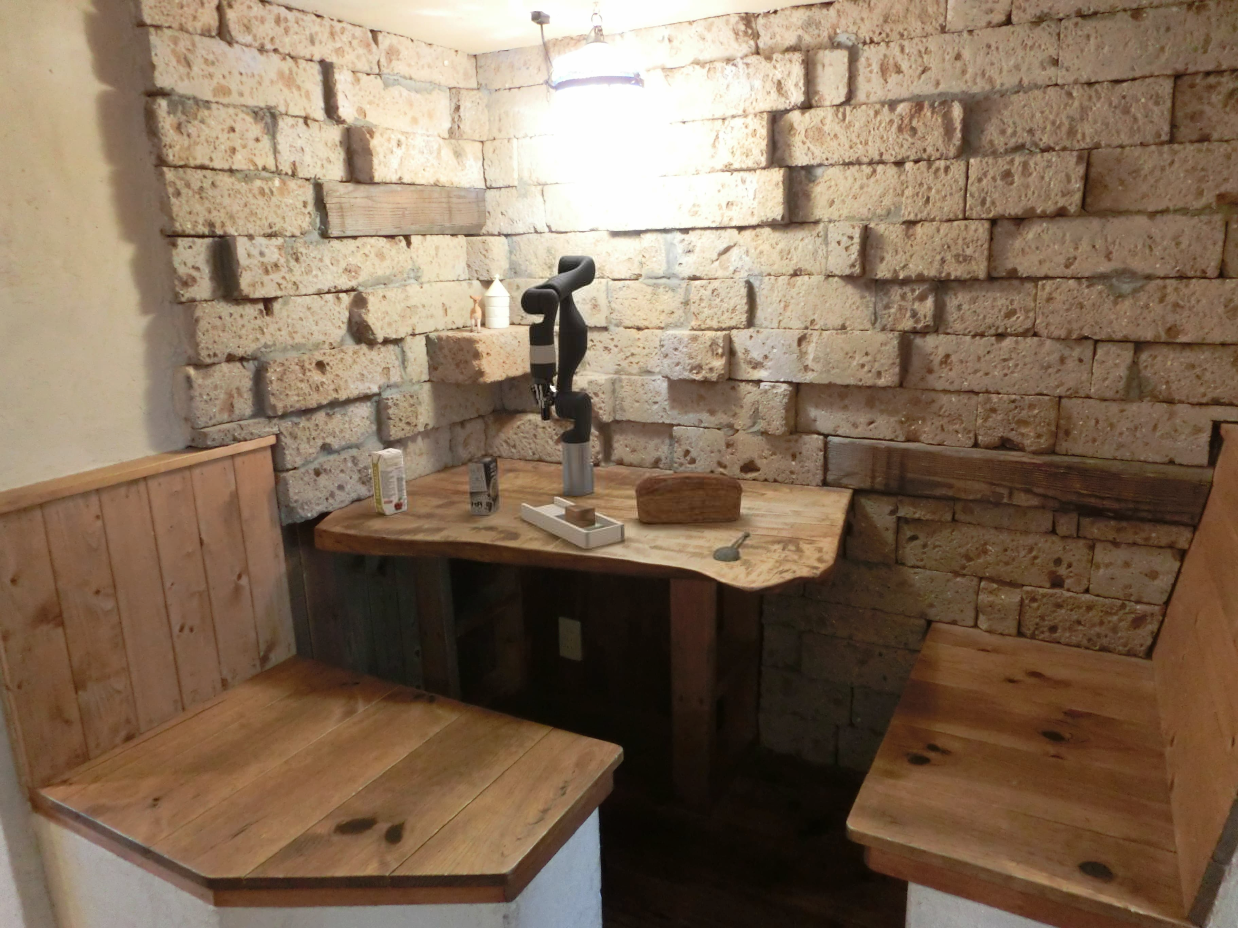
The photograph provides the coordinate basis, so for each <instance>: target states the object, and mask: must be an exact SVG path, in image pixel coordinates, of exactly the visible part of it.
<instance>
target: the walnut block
mask: <svg viewBox="0 0 1238 928" xmlns="http://www.w3.org/2000/svg"><path fill="white" fill-rule="evenodd" d="M574 504H575V505H570V506H565V521H566V522H568V523H570V524H572V525H575V526H577V527H579V528H584V527H588V526H592V525H595V512H596V507H595V506H592V505H589V504H587V503H585V502H580V503H574Z"/></svg>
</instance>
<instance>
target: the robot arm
mask: <svg viewBox="0 0 1238 928" xmlns="http://www.w3.org/2000/svg"><path fill="white" fill-rule="evenodd" d="M595 278H596V264H595V261H594V259H593V258H592V257H591V256H588V255H562V256H561V257H560V258H559V260H558V263H557V274H556V275H554V276H551V277H549V278H548V279H547V280H546V281H544V282H543V283H541V284H538V285H534V286H532V287H530V288H528V289H526V290H525V291H524V292H523V294H522V295H521V298H520V306H521V309H522V311H523V312H524V313H526V314H527V315H529V316H530V315H532V316H533V315H535V316H538V315H539V316H540V315H541V316H543V318H542V320H541V321H540V322H537V323H533V324H531V325H530V326H529V328H528V335H529V341H528V342H529V351H528V353H529V371H530V372H529V373H530V374H529V375H530V378H532V379H534V380H533V385H532V386H530V388H529V389H530V392H531V394H532V395H531V396H532V397H533V399H534V403H535V404H536V405H538V407H539V408H540V419H541V421H544V422H548V421H550V420H551V407H554V411H555V415H556V416H557V417H558V419H560V420H568V421H573V427H571V429H566V430H565V431H562V433H561V435H560V439H561V464H562V465H561V466H562V467H561V469H562V486H563V487H562V490H563V491H562V493H563V494H564V495H567V496H572V497H573V496H574V497H580V496H586V495H589V494H592V493H594V492H595V481H594V480H595V473H594V472H595V470H594V463H593V462H591V461H592V460H591V433H592V421H593V420H592V418H593V417H592V414H593V406H592V405H593V403H592V398H591V395H590V394H589V393H588V392H586V391H577V390H573V382H574V381H573V380H574V376H575V374H576V371H577V369H578V367H579V366H580V364H581V363H582V361H583V359H584V357H585V356H586V353H587V350H588V338H589V337H588V335H589V334H588V332H589V330H588V326H587V324H586V323H587V322H585V320H584V318H583V316H582V314H581V312H580V311H579V309H578V308H577V306H576V304H575V301H574V296H573V292H575V291H577V290H579V289H582V288H583V287H586V286H590V285H592V283H593V282H594V280H595ZM558 310H559V311H558ZM557 314H558V315H559V316H558V331H557V332H558V337H557V338H558V339H557V341H558V342H557V346H558V350H557V352H558V354H557V353H556V347H555V325H556V319H557ZM556 355H558V357H557V356H556ZM557 358H558V361H557ZM554 378H557V379H556V386H555V383H554Z"/></svg>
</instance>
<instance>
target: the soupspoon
mask: <svg viewBox="0 0 1238 928" xmlns="http://www.w3.org/2000/svg"><path fill="white" fill-rule="evenodd" d="M750 534H751V533H750V532H749V531H744V533H743V534H742V535H740V537H738V538H737V539H736V540H735V541H734V542H733V543H732V544H731V545H730V546H729V545H727V546H722V547H719V548H717V549H716V550H715V551H714V552H713V554H712V558H713V560H715V561H718V562H723V563H726V562H727V563H730V562H731V563H732V562H735V561H737V559H738V558H740V557H739V556H740V550H739V549H738V548H737V547H735V546H736V545H737V544H738V543H739V542H740V541H741V540H742V539H743V538H748V537H750V536H751V535H750Z"/></svg>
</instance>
